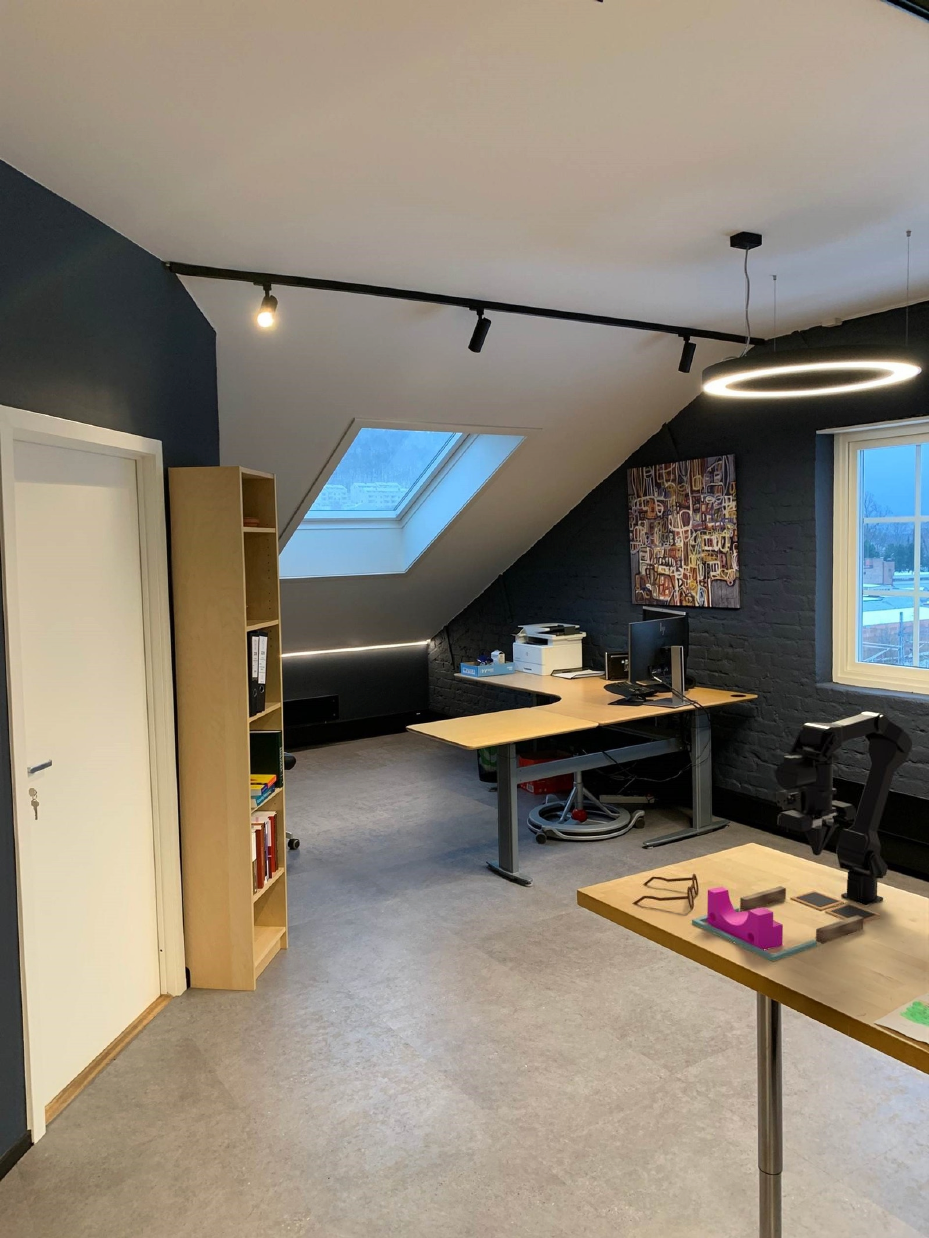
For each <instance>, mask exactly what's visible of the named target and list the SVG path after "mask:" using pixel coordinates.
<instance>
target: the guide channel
mask: <svg viewBox="0 0 929 1238" xmlns="http://www.w3.org/2000/svg"><path fill="white" fill-rule="evenodd" d="M786 897H787V888H786V887H784V886H782V885H781V886H776V887H773V888H769V889H765V890H762V891H759V892H755V893H752V894H749V895H745V896H742V897H741V896H740V901H739V902H740V903H739V910H742V911H747V912H749V910H754V909H758V908H762V907H764V906H767V904H768V905H771V904H774V903H777V902H780V900H781V901H784V900H786V899H787V898H786ZM773 902H774V903H773ZM757 907H758V908H757ZM864 926H865V923H864V918H863V917H861V916H858V915H856V916H853V917H850V918H848V919H845V920H844V919H842V920H839V921H836V922H833V923H830V924H826V925H824V926H821V927H817V928H816V930H815V931H816V932H815V941H817V942H818V943H819V944H821V945H822V944H823V945H824V944H826V943H828V942H832V941H834V940H838V939H840V938H843V937H846V936H849V935H852V934H855V933H857V932H861V931H864Z"/></svg>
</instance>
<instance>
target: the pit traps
mask: <svg viewBox="0 0 929 1238" xmlns="http://www.w3.org/2000/svg"><path fill="white" fill-rule="evenodd" d="M790 900H793V901H796V902H797V901H798V903H800V902H801V903H800V904H802V903H803V904H802V905H805V904H806V905H805V906H808V905H809V906H808V907H810V908H814V909H815V908H816V910H819V911H824V912H825V913H826V914H828V913H829V914H828V915H832V916H834V917H836V918H838V917H839V919H842V920H845V919H848V918H850V917H853V916H856V915H858V916H861V917H863V918H864V924H865V923H868V922H870V921H874V920H877V919H879V918H882V915H881V914H878V913H876V912H873V911H871V910H868V909H865V908H863V907H860V906H857V905H854V904H851V903H844V902H845V901H843V900H841V899H838V898H836V897H833V896H830V895H826V894H824V893H822V892H819V891H816V890H811V891H809V892H808V891H807V892H804V893H801V894H798V895H794V896H791V897H790ZM842 903H843V904H842ZM838 904H840V905H838ZM835 905H837V906H835ZM830 907H831V908H830ZM827 908H828V909H827ZM824 909H825V910H824Z"/></svg>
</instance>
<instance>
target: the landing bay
mask: <svg viewBox="0 0 929 1238" xmlns="http://www.w3.org/2000/svg"><path fill="white" fill-rule="evenodd" d="M733 908H734V910H735V911H736V912H737V913H739V912H740V907H737V906H733ZM691 924H693V925H695V926H697V927H700V928H701V927H702V928H701V929H704V930H705V929H706V930H705V931H707V930H708V932H710V933H711V934H714V933H715V934H714V935H716V934H717V935H716V936H718V937H720V936H721V938H722V937H723V938H722V939H724V938H726V939H725V940H727V941H729V940H730V941H729V942H731V941H732V942H731V943H733V942H735V943H736V944H735V943H734V944H735V945H737V944H738V945H737V946H739V945H741V946H742V948H743V949H746V950H748V949H749V950H748V951H751V952H752V953H754V952H755V953H754V954H756V955H758V954H759V955H758V956H761V957H763V956H764V957H763V958H765V959H767V960H769V961H771V962H775V961H778V960H781V959H783V958H784V959H785V958H786V956H787V957H789V956H791V955H796V954H798V953H801V952H803V951H806V950H810V949H812V948H815V947H817V946H818V943H819V942H817V941H816V939H815V940H814V939H812V940H809V941H806V942H804V943H800V944H797V945H794V946H791V947H789V948H786V949H783V950H780V951H778V952H774V953H771V952H769V951H766V950H762V949H760V948H758V947H756V946H754V945H752V944H749V943H747V942H745V941H743V940H741V939H739V938H736V937H734V936H732V935H730V934H728V933H726V932H724V931H721V930H719V929H717V928H715V927H713V926H711V925H709V924H707V914H706V915H704V916H699V917H696V918H692V919H691ZM741 946H740V947H741ZM805 949H806V950H805Z"/></svg>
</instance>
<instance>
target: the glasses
mask: <svg viewBox="0 0 929 1238" xmlns="http://www.w3.org/2000/svg"><path fill="white" fill-rule="evenodd" d="M653 880H658V881H659V880H660V881H664V882H668V883H671V882H673V883H674V882H675V883H676V882H685V881H687V882H688V881H691V882H692V883H691V886H688V887H687V890H686V891H687V893H686V894H687V895H681V896H665V897H658V896H654V895H643V896H641V897H640V898H638V899H636V900H635V901H633V902H632V903H631V904H633V905H637V904H639V903H641V902H642V901H644V900H646V899H649V900H651V899H652V900H655V901H659V902H662V901H679V900H681V901H682V900H687V901H688V906H689V908H690V910H694V907H695V900H694V895H695V896H696V897H697V896H699V889H700V888H699V882H698V878H697V875H696V873H692V877H691V876H690V877H689V876H688V877H677V878H666V877H661V876H652V877H650V878H649V879H647V880H646V881H645V882H644V883H643V884H642V885H643V886H648V884H651V882H652V881H653ZM693 893H694V894H693Z"/></svg>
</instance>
